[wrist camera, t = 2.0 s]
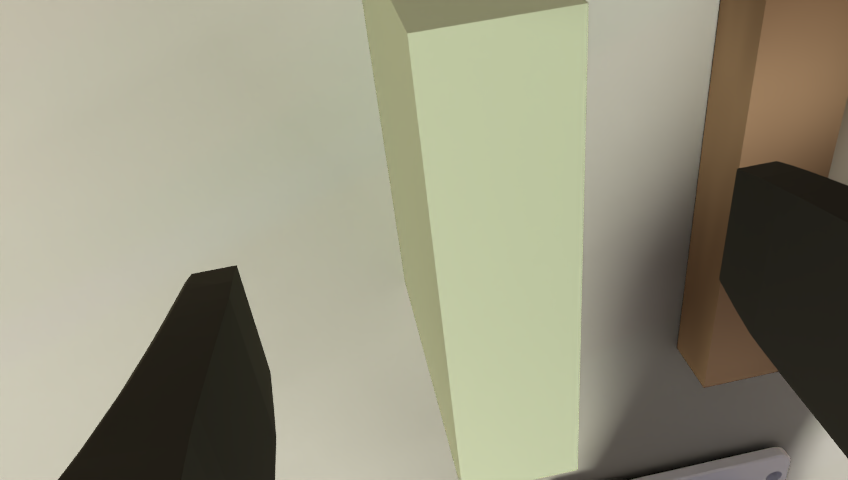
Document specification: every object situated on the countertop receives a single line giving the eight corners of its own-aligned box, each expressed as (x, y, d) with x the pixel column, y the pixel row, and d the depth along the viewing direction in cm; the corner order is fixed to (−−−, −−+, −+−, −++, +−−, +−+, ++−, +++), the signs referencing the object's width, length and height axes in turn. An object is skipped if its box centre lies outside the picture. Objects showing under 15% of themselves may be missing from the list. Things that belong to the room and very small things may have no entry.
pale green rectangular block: (488, 263, 18) (577, 470, 13) (405, 280, 17) (462, 495, 13) (462, -102, 13) (588, 3, 8) (349, -84, 13) (407, 33, 8)
